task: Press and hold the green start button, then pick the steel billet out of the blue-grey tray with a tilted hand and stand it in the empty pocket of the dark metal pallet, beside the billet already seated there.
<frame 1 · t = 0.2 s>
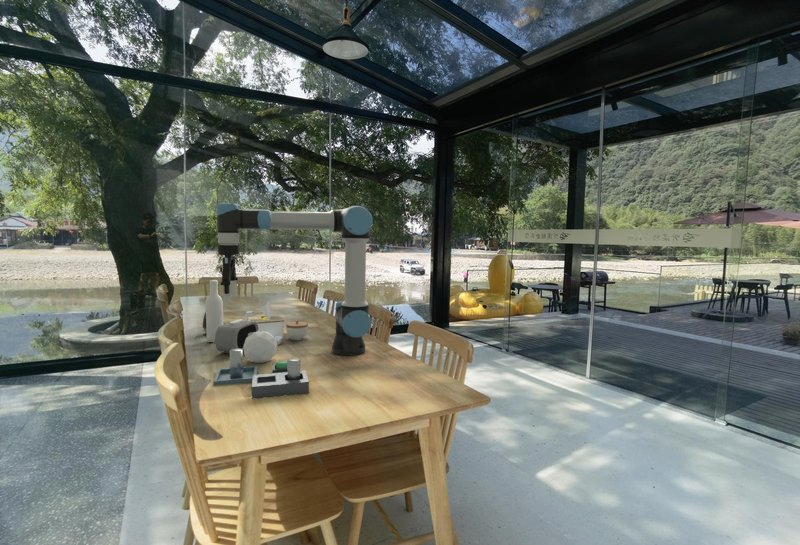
hand: (230, 299, 162), 28 cm above the table, tool pointing down, fingers open, 13 cm apart
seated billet: (294, 388, 145), resting in pallet
geodesic sphere: (260, 362, 174), on the table
loose billet: (236, 377, 153), point 1 cm above the table, touching tray
tray: (236, 379, 153), on the table
bottle: (215, 341, 207), on the table
lidded jar: (297, 339, 213), on the table
start button: (282, 366, 156), point 4 cm above the table, slide at 0.0 cm
pallet: (280, 389, 143), on the table
pump dispenser: (213, 333, 222), on the table
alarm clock: (238, 350, 192), on the table
button housing: (282, 376, 156), on the table
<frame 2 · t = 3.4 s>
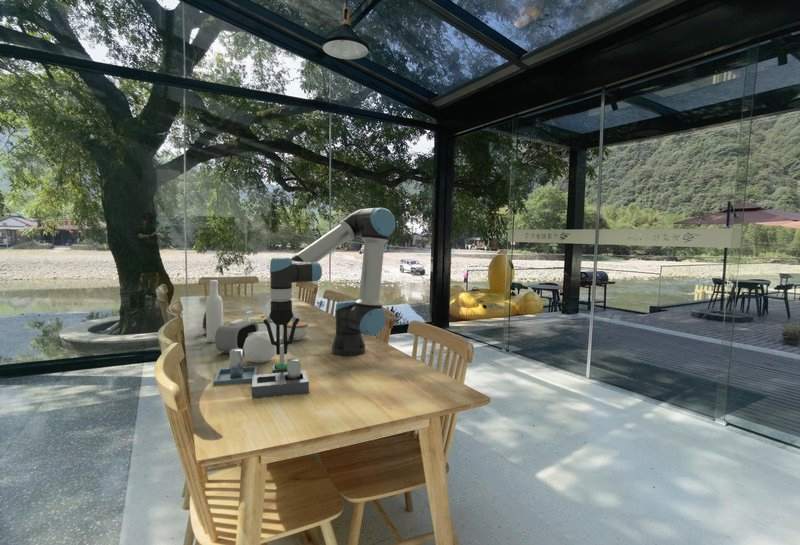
hand: (281, 362, 156), 5 cm above the table, tool pointing down, fingers closed
start button: (282, 367, 156), point 4 cm above the table, slide at 0.3 cm, touching gripper
everything else where it was.
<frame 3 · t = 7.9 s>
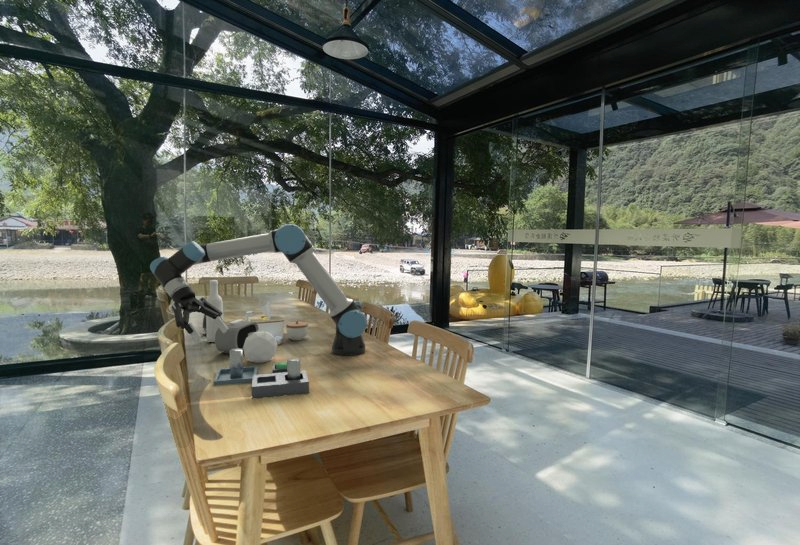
hand: (213, 335, 155), 15 cm above the table, tool tilted 45°, fingers open, 13 cm apart
start button: (282, 367, 156), point 3 cm above the table, slide at 0.5 cm
everything else where it was.
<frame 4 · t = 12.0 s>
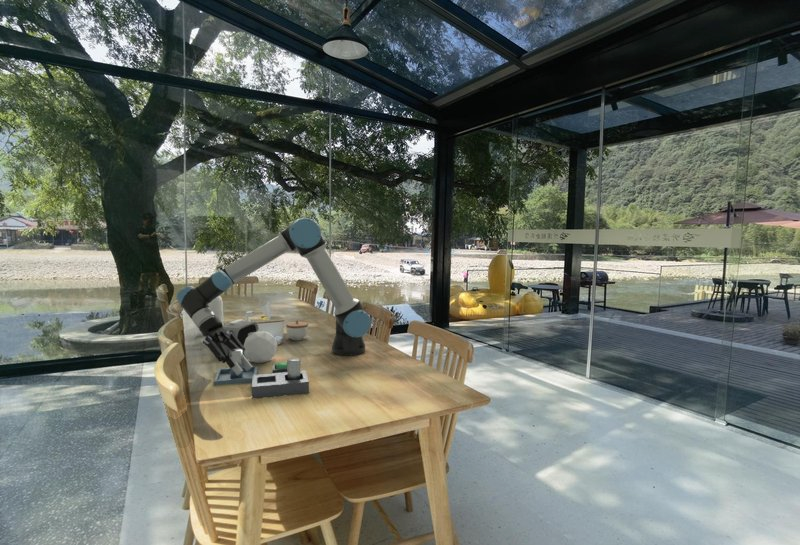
hand: (244, 370, 152), 4 cm above the table, tool tilted 45°, fingers closed on loose billet, 4 cm apart
loose billet: (236, 377, 153), point 1 cm above the table, touching gripper, tray
everything else where it was.
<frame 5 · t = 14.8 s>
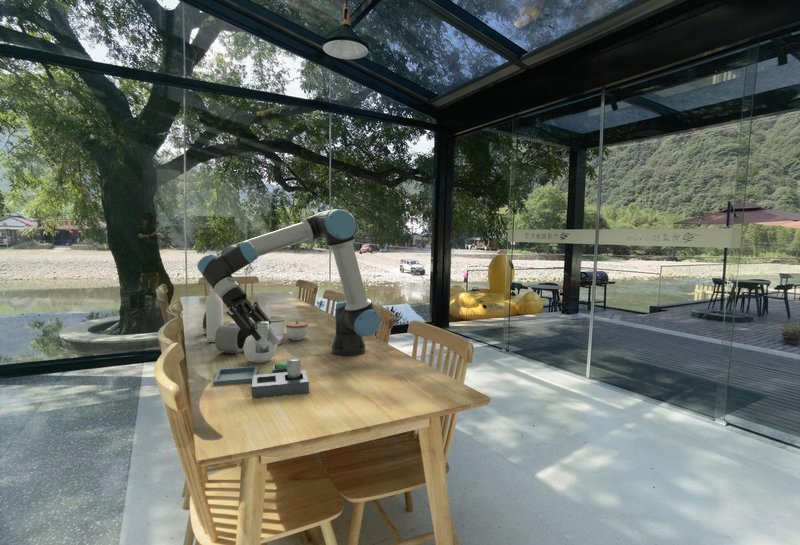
hand: (271, 344, 140), 16 cm above the table, tool tilted 45°, fingers closed on loose billet, 4 cm apart
loose billet: (262, 351, 142), point 13 cm above the table, touching gripper
everything else where it was.
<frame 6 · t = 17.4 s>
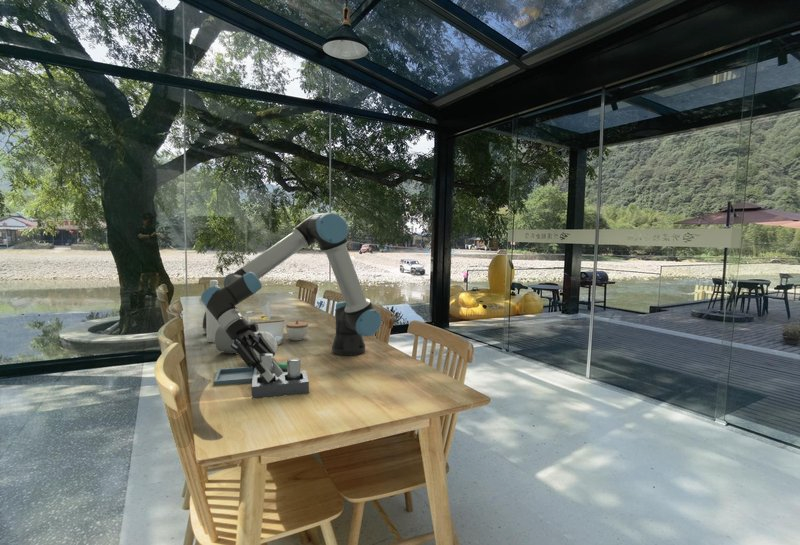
hand: (275, 377, 140), 5 cm above the table, tool tilted 45°, fingers closed on loose billet, pallet, 4 cm apart
loose billet: (266, 383, 142), point 3 cm above the table, touching gripper
everything else where it was.
when the fingers open (5 cm above the table, at t = 17.4 s): loose billet drops 3 cm, resting in pallet.
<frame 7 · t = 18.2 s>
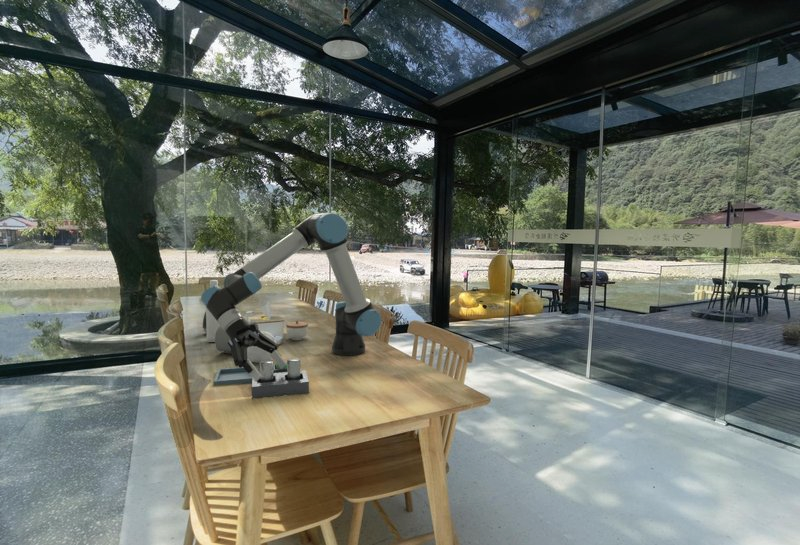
hand: (272, 372, 141), 7 cm above the table, tool tilted 45°, fingers open, 13 cm apart
loose billet: (267, 390, 142), resting in pallet
everything else where it was.
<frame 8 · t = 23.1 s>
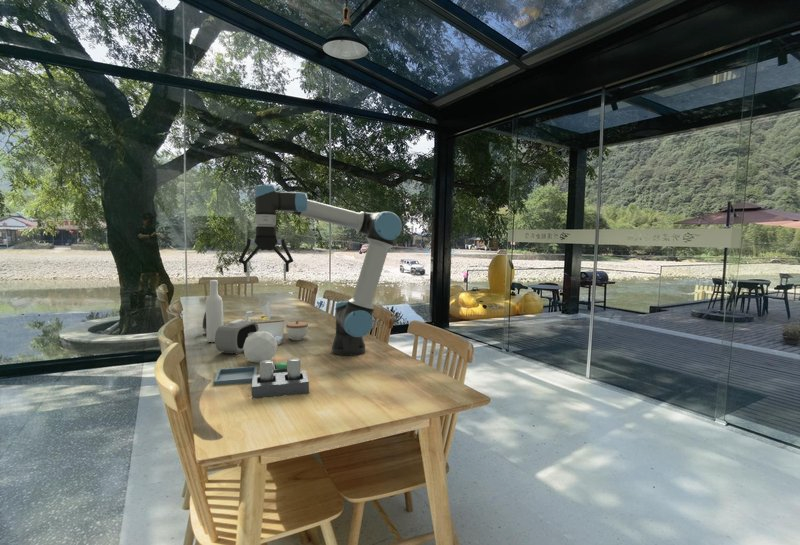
hand: (266, 280, 164), 35 cm above the table, tool pointing down, fingers open, 13 cm apart
nothing on the table moved.
at the end: loose billet 0.2 cm from the target spot on the pallet, point 0.0 cm above the pallet's base; loose billet tilted 0°; start button slide at 0.5 cm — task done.
